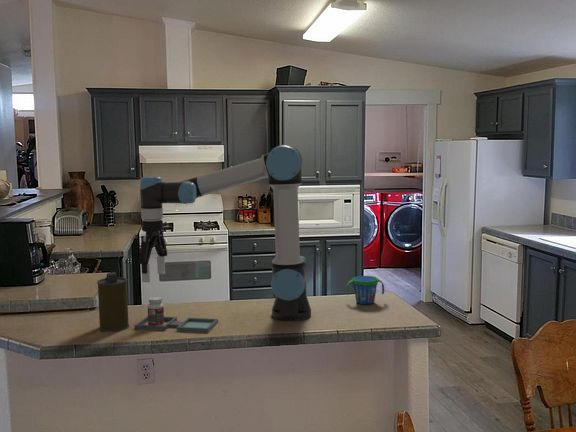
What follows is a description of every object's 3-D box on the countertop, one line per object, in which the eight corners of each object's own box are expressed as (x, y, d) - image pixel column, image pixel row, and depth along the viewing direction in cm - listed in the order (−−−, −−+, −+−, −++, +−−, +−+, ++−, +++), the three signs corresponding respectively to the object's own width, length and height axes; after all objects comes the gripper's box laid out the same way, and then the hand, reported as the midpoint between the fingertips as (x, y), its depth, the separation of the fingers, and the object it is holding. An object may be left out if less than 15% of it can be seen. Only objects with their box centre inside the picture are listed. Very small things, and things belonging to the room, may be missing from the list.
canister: (132, 328, 207) (130, 274, 204) (102, 333, 202) (99, 277, 199) (125, 321, 216) (122, 268, 214) (96, 325, 211) (93, 272, 209)
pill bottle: (160, 327, 208) (159, 300, 207) (145, 326, 209) (144, 300, 208) (166, 322, 213) (165, 296, 212) (152, 322, 215) (151, 296, 213)
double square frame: (218, 322, 213) (218, 318, 213) (208, 332, 202) (208, 328, 201) (147, 319, 218) (147, 315, 218) (134, 328, 207) (134, 325, 206)
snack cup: (346, 305, 233) (346, 281, 232) (345, 299, 244) (345, 275, 243) (385, 306, 232) (385, 281, 231) (383, 299, 242) (383, 275, 241)
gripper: (156, 215, 219) (157, 270, 222) (126, 224, 195) (128, 285, 198) (174, 215, 218) (176, 270, 221) (147, 224, 194) (149, 286, 196)
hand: (153, 277), depth 209 cm, fingers open, 13 cm apart
